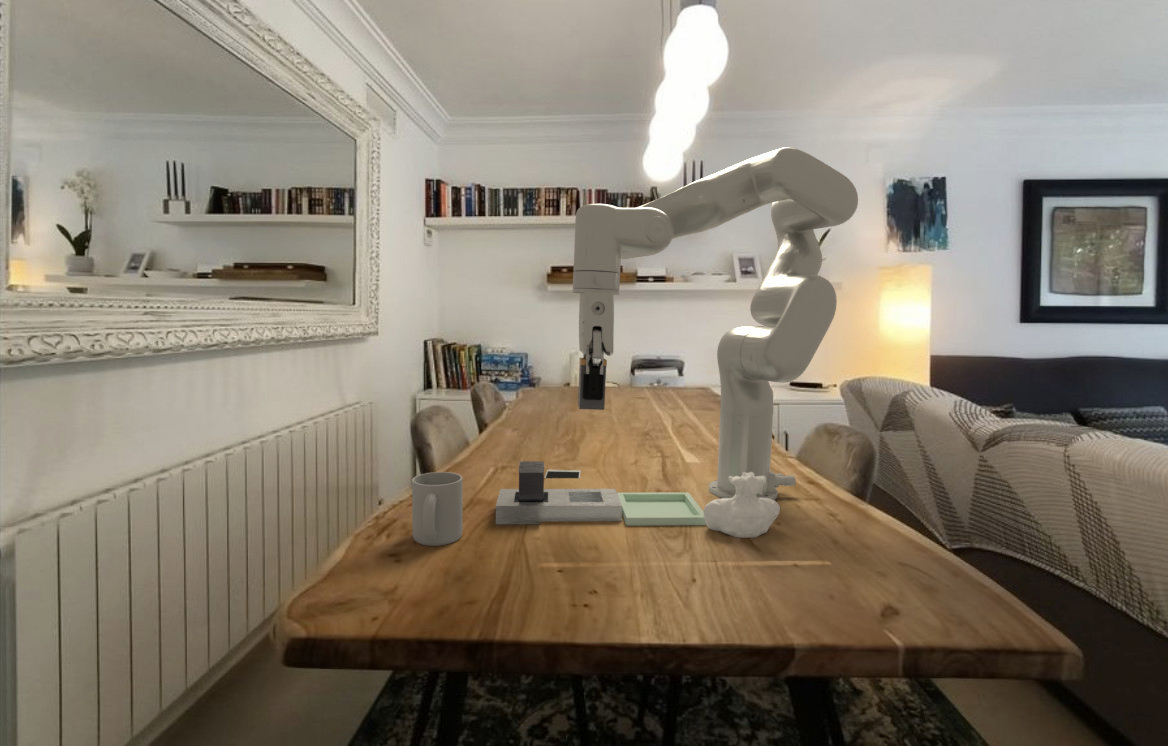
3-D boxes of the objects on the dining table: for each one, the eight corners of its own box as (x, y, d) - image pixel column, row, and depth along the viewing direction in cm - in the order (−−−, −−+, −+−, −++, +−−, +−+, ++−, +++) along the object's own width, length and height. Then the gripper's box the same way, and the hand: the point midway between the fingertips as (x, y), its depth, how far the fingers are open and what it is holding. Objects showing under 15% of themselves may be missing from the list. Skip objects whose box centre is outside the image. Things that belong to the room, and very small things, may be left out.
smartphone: (539, 495, 110) (539, 490, 110) (547, 473, 125) (547, 468, 125) (577, 496, 110) (577, 491, 110) (580, 474, 125) (580, 469, 125)
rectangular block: (602, 406, 99) (604, 358, 98) (604, 409, 95) (606, 360, 94) (577, 405, 99) (579, 357, 98) (579, 409, 94) (581, 359, 94)
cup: (466, 528, 91) (466, 472, 91) (454, 554, 82) (453, 491, 81) (419, 528, 91) (419, 471, 90) (401, 554, 81) (400, 491, 80)
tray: (688, 501, 106) (688, 492, 106) (707, 527, 94) (708, 517, 93) (616, 501, 106) (616, 492, 105) (626, 528, 93) (626, 517, 92)
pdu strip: (614, 505, 104) (616, 458, 103) (621, 523, 95) (622, 471, 94) (500, 505, 102) (500, 457, 101) (495, 524, 93) (495, 471, 92)
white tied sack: (703, 550, 90) (721, 508, 82) (693, 507, 96) (709, 465, 88) (779, 548, 91) (803, 507, 84) (765, 506, 97) (786, 464, 89)
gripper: (627, 282, 87) (621, 405, 89) (613, 288, 103) (608, 391, 105) (576, 280, 86) (571, 404, 88) (570, 286, 103) (566, 390, 105)
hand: (591, 396), depth 97 cm, fingers closed on rectangular block, 4 cm apart
